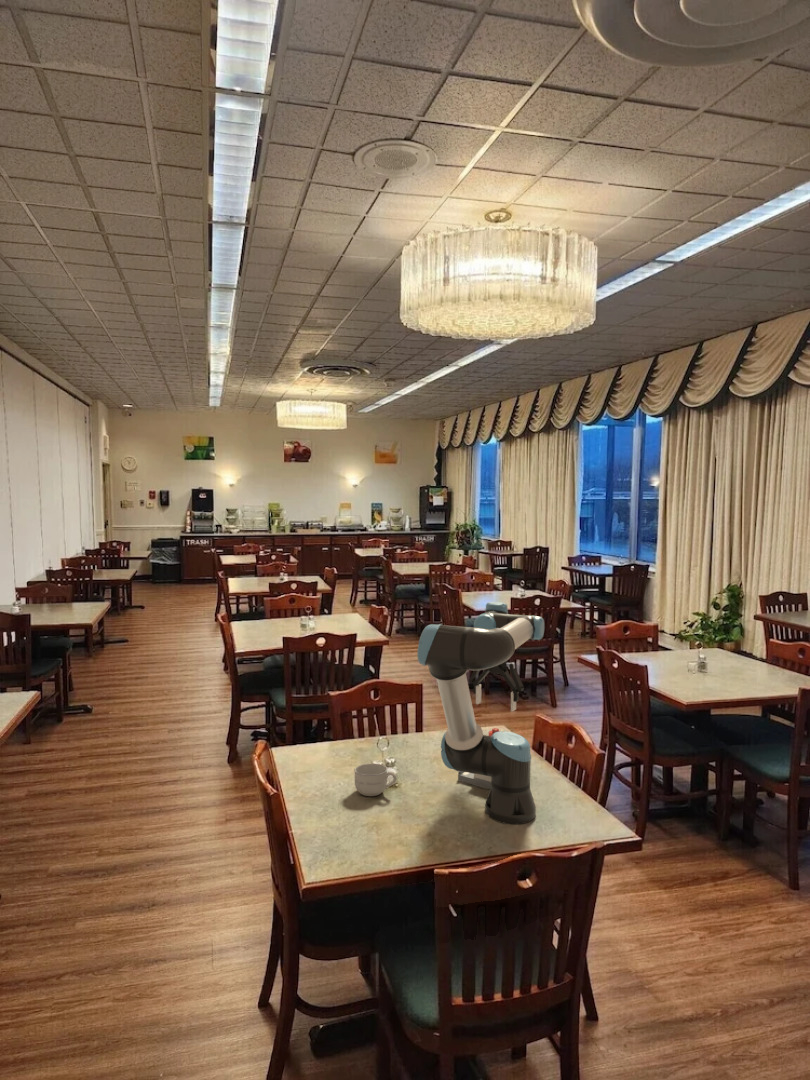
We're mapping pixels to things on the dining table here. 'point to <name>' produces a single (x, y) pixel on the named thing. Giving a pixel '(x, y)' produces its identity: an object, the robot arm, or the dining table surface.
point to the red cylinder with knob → (493, 731)
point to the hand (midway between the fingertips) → (495, 706)
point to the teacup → (372, 779)
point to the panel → (473, 780)
